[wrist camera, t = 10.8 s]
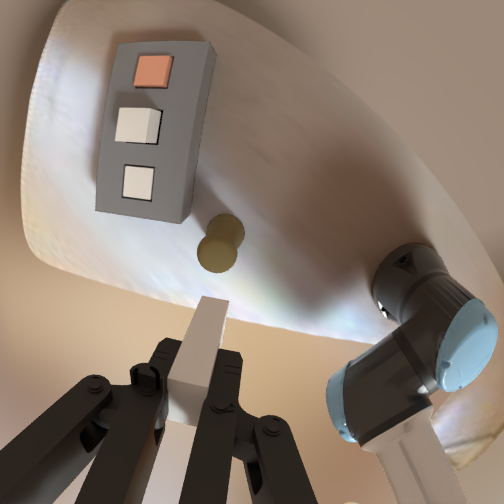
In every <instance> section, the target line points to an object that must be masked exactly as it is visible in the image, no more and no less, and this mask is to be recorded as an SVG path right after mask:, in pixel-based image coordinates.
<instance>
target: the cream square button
mask: <svg viewBox="0 0 504 504" xmlns="http://www.w3.org/2000/svg"><path fill="white" fill-rule="evenodd" d="M154 174H155V167H151V166H142V165H128V166H125V177H124V190H123V196H126V197H133V198H141V199H148V200H151V199H152V194H153V184H154Z"/></svg>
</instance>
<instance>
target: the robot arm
mask: <svg viewBox="0 0 504 504" xmlns="http://www.w3.org/2000/svg"><path fill="white" fill-rule="evenodd" d="M372 292H373V299H374V302H375V304H376V306H377V307H378V309H379V310H380V312H381V313H382V314H383V315H384V316H385V317H386V318H387V319H389V320H391V321H392V322H394V323H396V324H398V325H400V326H399V327H398V328H397V329H396V330H394V331H393V332H392V333H390V334H389V335H388V336H386V337H385V338H384V339H382V340H381V341H380V342H378V343H377V344H376V345H374V346H373V347H372V348H370V349H369V350H367V351H366V352H364V353H363V354H361V355H360V356H358V357H357V358H356V359H354V360H352V361H349V362H348V363H347V364H346V365H345V366H344V367H343V368H342V369H340V370H339V371H338V372H336V373H335V374H334V375H332V377H331V378H330V379H329V381H328V384H327V388H326V403H327V407H328V412H329V415H330V418H331V420H332V423H333V425H334V427H335V428H336V430H339V434H340V436H341V437H342V438H343V439H344V440H346V441H348V442H358V443H359V445H360V447H361V449H362V450H365V451H369V452H373V453H374V454H376V456H377V458H378V460H379V462H380V464H381V466H382V468H383V471H384V473H385V475H386V477H387V480H388V482H389V484H390V486H391V488H392V491H393V493H394V495H395V497H396V500H397V502H398V504H469V503H468V500H467V498H466V496H465V494H464V491H463V489H462V487H461V485H460V482H459V480H458V478H457V476H456V474H455V472H454V469H453V467H452V465H451V463H450V461H449V459H448V457H447V455H446V453H445V451H444V449H443V447H442V445H441V443H440V441H439V439H438V437H437V435H436V433H435V432H434V430H433V428H432V426H431V424H430V419H431V415H432V412H433V409H434V407H433V405H432V403H431V401H430V399H429V396H430V395H431V394H433V393H434V392H435V391H437V390H438V389H439V388H440V389H442V390H444V391H447V392H453V391H456V390H457V389H458V388H463V387H465V386H466V385H468V384H469V383H470V382H471V381H473V380H474V379H475V378H476V377H477V376H478V375H479V373H480V372H481V371H482V370H483V368H484V367H485V366H486V364H487V363H488V361H489V359H490V357H491V355H492V353H493V350H494V348H495V345H496V342H497V336H498V326H497V322H496V319H495V317H494V316H493V314H492V313H491V312H490V311H489V310H488V309H487V308H486V307H485V304H484V303H483V302H482V301H481V300H479V299H477V298H476V297H475V296H474V295H473V294H471V293H470V292H469V291H468V290H467V289H465V288H464V287H463V286H462V285H461V284H459V283H458V282H457V281H456V280H455V279H453V278H452V277H451V276H450V275H449V272H448V270H447V268H446V266H445V264H444V262H443V260H442V258H441V257H440V256H439V255H438V254H437V253H436V252H435V251H434V250H432V249H431V248H430V247H428V246H426V245H423V244H419V243H412V244H407V245H404V246H402V247H399V248H398V249H396V250H394V251H393V252H392V253H391V254H389V255H388V256H387V257H386V258H385V260H384V261H383V262H382V263H381V265H380V267H379V268H378V270H377V272H376V275H375V277H374V281H373V288H372ZM228 305H229V301H227V300H221V299H216V298H211V297H206V296H202V297H201V300H200V302H199V304H198V306H197V309H196V311H195V313H194V316H193V318H192V320H191V323H190V325H189V327H188V330H187V332H186V334H185V337H184V339H183V341H179V340H175V339H171V338H165V339H163V340H162V341H161V342H159V343H158V345H157V347H156V349H155V351H154V353H153V355H152V357H151V359H150V361H149V363H140V364H137V365H135V366H133V367H132V368H131V369H130V377H131V384H130V385H111V384H110V382H109V380H107V379H106V378H105V377H103V376H100V375H89V376H87V377H85V378H83V379H82V380H81V381H80V382H78V383H77V384H76V385H75V386H74V387H73V388H71V389H70V390H69V391H68V392H67V393H66V394H64V395H63V396H62V397H61V398H60V399H59V400H57V401H56V402H55V403H54V404H53V405H52V406H51V407H50V408H48V409H47V410H46V411H45V412H44V413H43V414H41V415H40V416H39V417H38V418H37V419H36V420H34V421H33V422H32V423H31V424H30V425H29V426H28V427H26V428H25V429H24V430H23V431H22V432H21V433H20V434H19V435H17V436H16V437H15V438H14V439H13V440H12V441H11V442H10V443H8V444H7V445H6V446H5V447H4V448H3V449H2V450H0V504H53V502H54V501H55V500H56V499H57V498H58V497H59V496H60V495H61V493H63V491H64V490H65V489H66V488H67V487H68V486H69V485H70V484H71V483H72V481H73V480H74V479H75V478H76V477H77V476H78V475H79V474H80V472H81V471H82V470H83V469H84V468H85V467H86V466H87V465H88V464H89V462H90V461H91V460H92V459H93V458H94V457H95V456H96V457H95V459H94V461H93V463H92V465H91V468H90V470H89V472H88V474H87V476H86V479H85V481H84V483H83V485H82V488H81V490H80V492H79V494H78V497H77V499H76V501H75V503H74V504H142V500H143V497H144V494H145V490H146V487H147V484H148V481H149V478H150V475H151V472H152V468H153V465H154V462H155V459H156V456H157V453H158V450H159V447H160V444H161V441H162V438H163V435H164V432H165V421H166V418H167V415H168V420H171V421H175V422H179V423H183V424H187V425H192V426H196V427H197V429H196V434H195V437H194V442H193V446H192V450H191V454H190V458H189V462H188V466H187V470H186V475H185V479H184V483H183V487H182V491H181V496H180V500H179V504H226V500H227V493H228V485H229V478H230V470H231V461H232V456H233V457H236V458H237V459H240V460H242V461H243V464H244V468H245V473H246V477H247V482H248V486H249V491H250V494H251V499H252V503H253V504H318V502H317V500H316V497H315V495H314V492H313V489H312V487H311V484H310V481H309V479H308V476H307V474H306V470H305V468H304V465H303V462H302V460H301V457H300V454H299V451H298V449H297V446H296V443H295V440H294V438H293V435H292V432H291V429H290V427H289V425H288V424H287V422H286V421H285V420H283V419H282V418H280V417H278V416H274V415H267V416H262V417H261V418H257V417H255V416H252V415H250V414H248V413H246V412H245V411H244V410H243V409H242V408H241V406H240V405H239V402H238V396H239V388H240V379H241V372H242V364H243V359H242V357H241V355H240V353H239V352H235V351H229V350H224V349H221V345H222V341H223V335H224V329H225V323H226V317H227V311H228Z"/></svg>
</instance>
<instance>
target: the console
mask: <svg viewBox="0 0 504 504" xmlns="http://www.w3.org/2000/svg"><path fill="white" fill-rule="evenodd" d="M216 55H217V54H216V52H215V50H214V48H213V46H212V45H211V43H210V42H206V41H147V42H132V43H121V44H118V48H117V52H116V56H115V60H114V64H113V69H112V73H111V78H110V82H109V87H108V93H107V98H106V104H105V110H104V116H103V123H102V130H101V138H100V147H99V157H98V168H97V183H96V206H95V211H99V212H106V213H112V214H119V215H125V216H132V217H138V218H144V219H151V220H157V221H163V222H170V223H176V224H181V223H182V222H183V221H184V220H185V219H186V218H187V217H188V216H189V215H190V213H191V204H192V196H193V189H194V181H195V174H196V167H197V160H198V153H199V147H200V140H201V134H202V128H203V122H204V116H205V111H206V105H207V100H208V94H209V89H210V84H211V79H212V74H213V69H214V65H215V60H216ZM140 56H170V57H171V58H174V61H173V65H172V70H171V74H170V79H169V84H168V89H138V87H137V86H135V85H134V81H135V76H136V71H137V67H138V62H139V58H140ZM120 108H151V109H154V110H164V111H163V116H162V123H161V129H160V136H159V143H158V145H150V144H137V143H129V142H124V141H115V136H116V129H117V122H118V115H119V109H120ZM127 164H131V165H142V166H151V167H155V174H154V184H153V194H152V201H151V200H144V199H136V198H129V197H124V196H123V190H124V177H125V166H126V165H127Z"/></svg>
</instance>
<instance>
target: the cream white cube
mask: <svg viewBox="0 0 504 504" xmlns="http://www.w3.org/2000/svg"><path fill="white" fill-rule="evenodd" d="M160 116H161V112H160V111H157V110H154V109H151V108H120V109H119V115H118V122H117V129H116V136H115V141H124V142H140V143H156V142H157V135H158V129H159V122H160Z"/></svg>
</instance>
